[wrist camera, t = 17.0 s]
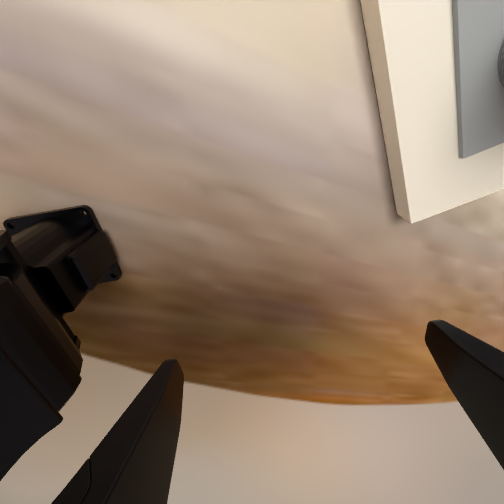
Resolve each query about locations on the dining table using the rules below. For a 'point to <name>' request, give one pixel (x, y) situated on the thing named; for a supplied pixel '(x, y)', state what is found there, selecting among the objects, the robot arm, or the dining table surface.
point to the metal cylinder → (501, 64)
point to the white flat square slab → (438, 99)
